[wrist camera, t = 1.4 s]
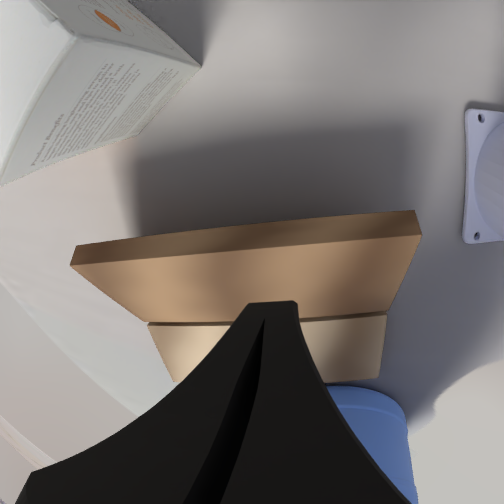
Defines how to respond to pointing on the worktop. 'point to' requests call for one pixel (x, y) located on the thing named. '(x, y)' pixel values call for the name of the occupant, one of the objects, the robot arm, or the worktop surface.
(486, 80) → the worktop surface
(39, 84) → the small box
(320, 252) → the walnut plank
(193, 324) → the oak floor strip
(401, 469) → the water jug
